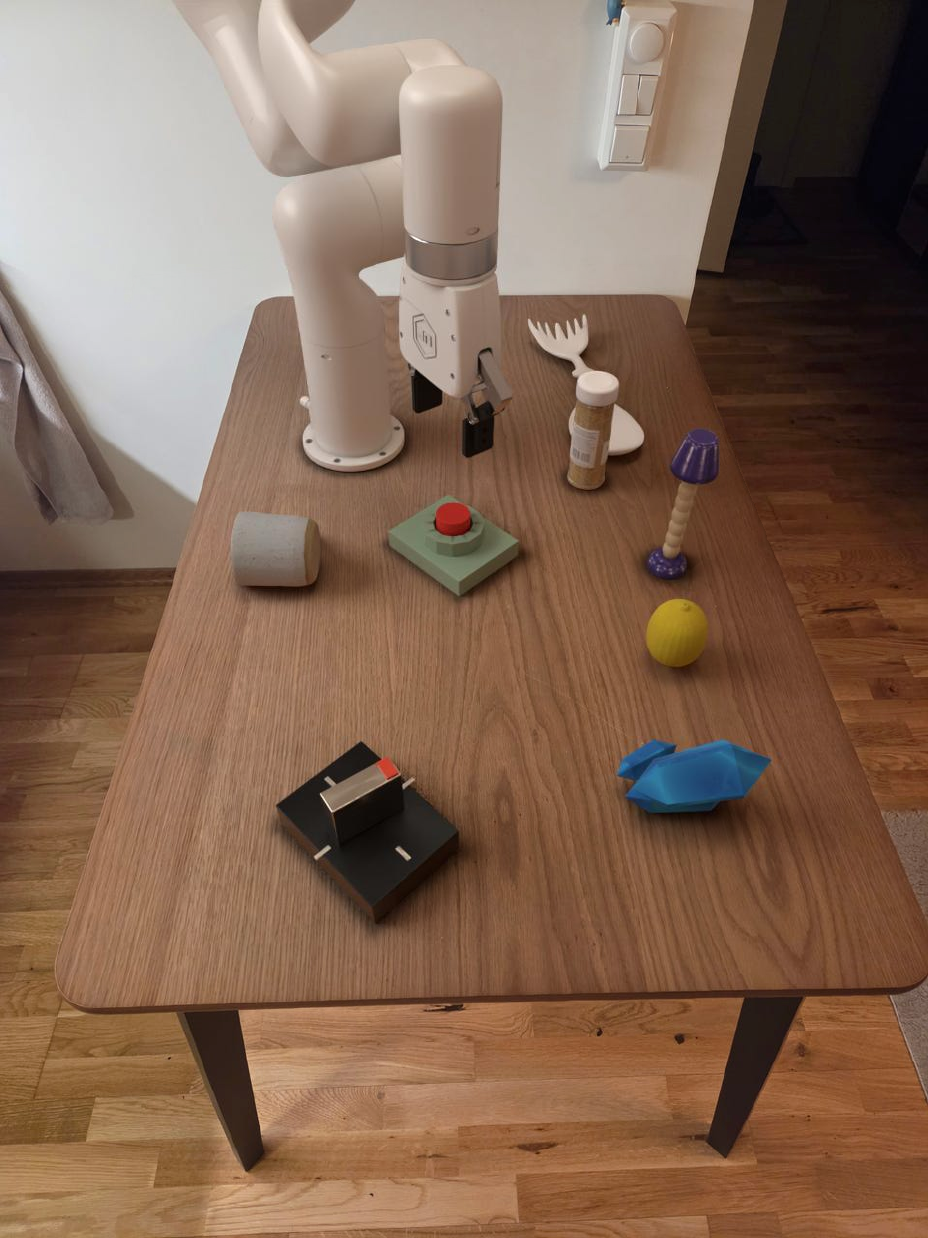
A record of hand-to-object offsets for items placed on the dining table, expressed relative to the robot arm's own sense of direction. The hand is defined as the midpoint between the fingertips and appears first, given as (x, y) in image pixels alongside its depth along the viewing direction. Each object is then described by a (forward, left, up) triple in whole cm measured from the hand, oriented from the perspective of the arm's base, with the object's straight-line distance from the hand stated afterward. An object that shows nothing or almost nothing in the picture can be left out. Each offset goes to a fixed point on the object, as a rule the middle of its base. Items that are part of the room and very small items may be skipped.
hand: (452, 428), depth 82 cm
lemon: (+26, +4, -16) cm, 31 cm away
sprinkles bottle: (+2, +20, -16) cm, 26 cm away
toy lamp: (+18, +15, -16) cm, 28 cm away
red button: (0, 0, -12) cm, 12 cm away
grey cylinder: (-11, -15, -16) cm, 24 cm away
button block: (0, 0, -16) cm, 16 cm away
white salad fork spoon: (-10, +34, -16) cm, 39 cm away
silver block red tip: (+20, -29, -13) cm, 37 cm away
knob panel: (+20, -29, -16) cm, 39 cm away
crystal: (+36, -8, -16) cm, 40 cm away
